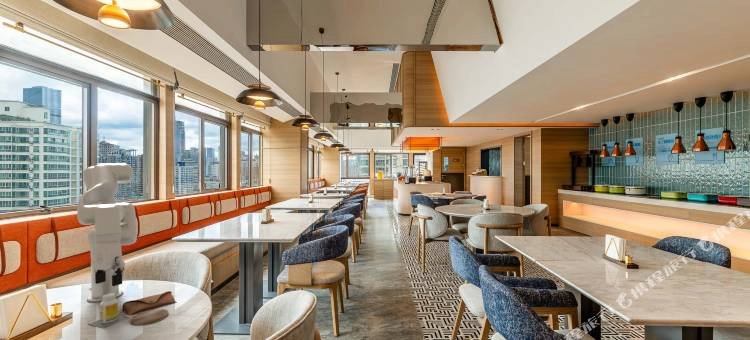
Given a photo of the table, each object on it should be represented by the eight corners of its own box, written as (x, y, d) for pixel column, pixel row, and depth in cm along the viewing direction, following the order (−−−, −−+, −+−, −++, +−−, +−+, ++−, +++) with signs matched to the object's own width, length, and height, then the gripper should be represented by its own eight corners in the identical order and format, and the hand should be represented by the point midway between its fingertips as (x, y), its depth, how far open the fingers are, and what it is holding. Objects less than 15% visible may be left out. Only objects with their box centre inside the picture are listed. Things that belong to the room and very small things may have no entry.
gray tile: (87, 324, 120) (87, 323, 120) (114, 314, 129) (114, 313, 129) (103, 328, 117) (103, 327, 117) (129, 317, 126) (129, 317, 126)
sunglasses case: (127, 316, 126) (124, 299, 129) (123, 321, 130) (121, 304, 133) (178, 302, 140) (175, 286, 142) (173, 306, 144) (170, 291, 146)
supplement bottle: (96, 324, 120) (95, 298, 120) (106, 317, 125) (106, 292, 125) (112, 323, 121) (111, 297, 121) (121, 316, 126) (121, 291, 126)
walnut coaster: (122, 322, 122) (122, 320, 122) (154, 309, 133) (154, 307, 133) (144, 327, 118) (144, 325, 118) (175, 313, 129) (175, 311, 129)
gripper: (82, 239, 123) (82, 285, 122) (111, 241, 116) (112, 289, 116) (104, 235, 130) (105, 278, 129) (133, 237, 123) (134, 282, 123)
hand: (108, 283), depth 123 cm, fingers open, 9 cm apart
